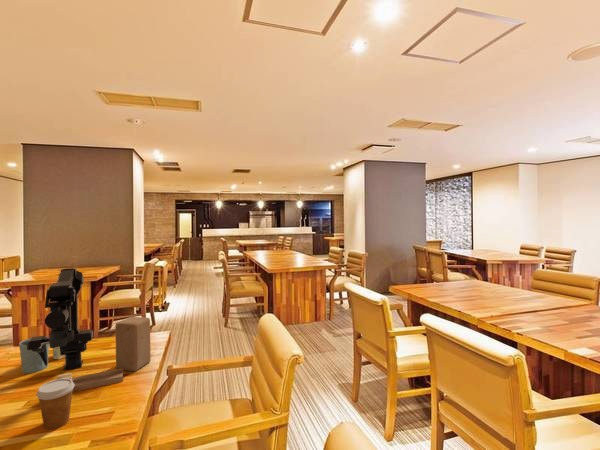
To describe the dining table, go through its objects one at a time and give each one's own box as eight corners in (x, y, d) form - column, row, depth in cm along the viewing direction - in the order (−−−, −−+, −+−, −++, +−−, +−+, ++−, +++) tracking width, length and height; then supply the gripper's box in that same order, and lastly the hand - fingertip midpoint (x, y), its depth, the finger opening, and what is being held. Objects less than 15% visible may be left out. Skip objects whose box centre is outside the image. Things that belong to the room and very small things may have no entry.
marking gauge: (62, 384, 126) (62, 366, 126) (75, 382, 128) (74, 364, 128) (55, 402, 114) (55, 382, 114) (69, 399, 116) (69, 379, 116)
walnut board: (54, 386, 125) (54, 381, 125) (123, 372, 136) (123, 368, 136) (50, 396, 118) (49, 390, 118) (122, 381, 129) (122, 376, 129)
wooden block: (136, 372, 136) (135, 324, 136) (115, 370, 138) (114, 322, 138) (151, 362, 146) (151, 317, 146) (131, 360, 148) (131, 315, 148)
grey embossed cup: (16, 376, 133) (15, 346, 133) (23, 366, 142) (22, 338, 142) (47, 370, 138) (47, 342, 138) (52, 361, 147) (52, 334, 147)
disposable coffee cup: (69, 410, 110) (68, 374, 109) (79, 421, 103) (78, 384, 103) (33, 424, 102) (32, 386, 102) (42, 437, 96) (41, 396, 96)
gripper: (21, 331, 107) (23, 378, 108) (89, 322, 116) (90, 366, 117) (30, 321, 117) (31, 364, 118) (92, 313, 126) (93, 354, 126)
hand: (62, 362), depth 119 cm, fingers open, 9 cm apart
